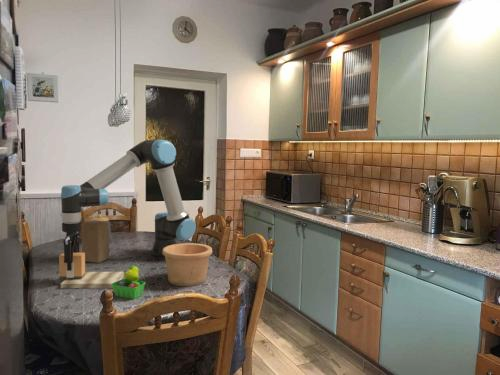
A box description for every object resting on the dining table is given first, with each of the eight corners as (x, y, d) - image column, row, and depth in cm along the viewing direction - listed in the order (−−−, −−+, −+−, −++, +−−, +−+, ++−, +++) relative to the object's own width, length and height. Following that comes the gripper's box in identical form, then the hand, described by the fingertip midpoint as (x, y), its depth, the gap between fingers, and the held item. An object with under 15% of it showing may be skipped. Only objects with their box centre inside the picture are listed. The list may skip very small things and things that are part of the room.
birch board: (123, 275, 182) (123, 271, 182) (115, 288, 166) (115, 283, 166) (73, 276, 179) (73, 271, 179) (60, 288, 163) (60, 283, 163)
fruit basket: (110, 296, 157) (110, 268, 156) (125, 289, 165) (125, 262, 164) (134, 301, 153) (134, 272, 152) (148, 293, 161) (148, 266, 160)
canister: (102, 239, 252) (102, 211, 250) (115, 242, 244) (115, 213, 243) (83, 242, 242) (83, 213, 240) (96, 246, 234) (95, 216, 232)
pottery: (217, 275, 186) (218, 245, 185) (201, 291, 165) (202, 257, 164) (174, 270, 191) (175, 241, 190) (153, 285, 170) (153, 252, 169)
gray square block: (68, 281, 173) (67, 278, 173) (64, 284, 169) (64, 281, 169) (58, 281, 173) (58, 278, 173) (54, 285, 169) (54, 281, 169)
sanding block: (85, 274, 174) (84, 252, 173) (81, 278, 169) (81, 255, 169) (63, 274, 173) (63, 252, 172) (59, 278, 168) (59, 255, 167)
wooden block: (99, 263, 199) (98, 224, 198) (81, 262, 201) (80, 223, 200) (110, 258, 209) (109, 220, 207) (92, 256, 211) (92, 219, 209)
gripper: (69, 218, 178) (70, 269, 180) (54, 226, 160) (55, 282, 162) (86, 218, 178) (87, 268, 181) (73, 226, 161) (74, 282, 163)
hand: (72, 275), depth 171 cm, fingers closed on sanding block, 5 cm apart
